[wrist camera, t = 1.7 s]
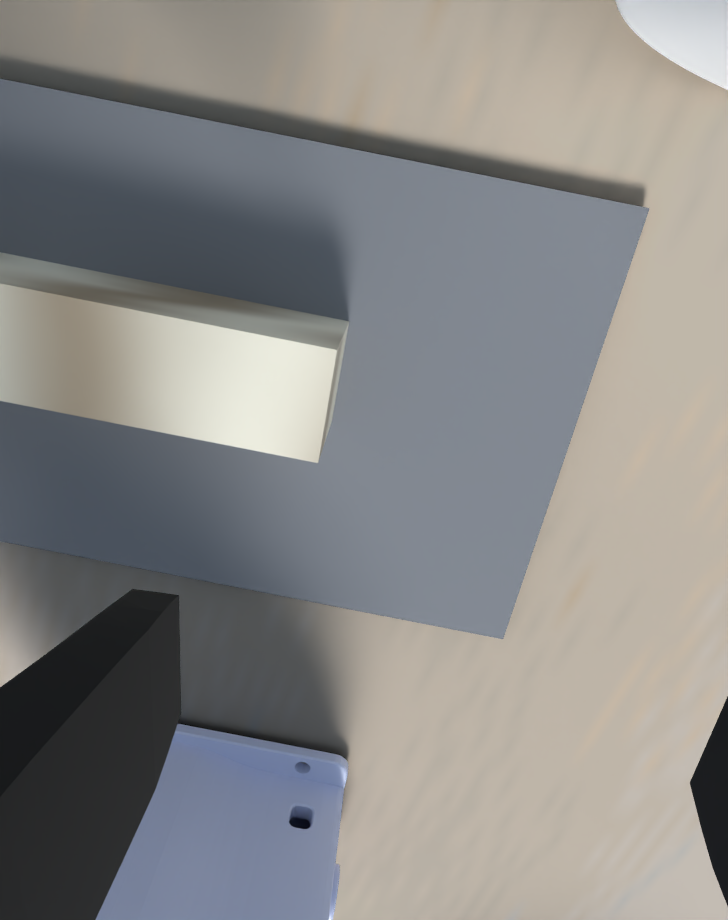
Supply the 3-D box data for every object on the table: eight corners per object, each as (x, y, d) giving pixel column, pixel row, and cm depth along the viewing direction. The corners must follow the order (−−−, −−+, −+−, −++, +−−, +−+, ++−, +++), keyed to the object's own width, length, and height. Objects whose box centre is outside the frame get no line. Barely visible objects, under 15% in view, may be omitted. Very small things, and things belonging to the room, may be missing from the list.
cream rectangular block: (348, 321, 16) (337, 350, 14) (331, 420, 17) (317, 463, 15) (-154, 221, 16) (-253, 233, 14) (-140, 328, 17) (-229, 355, 15)
